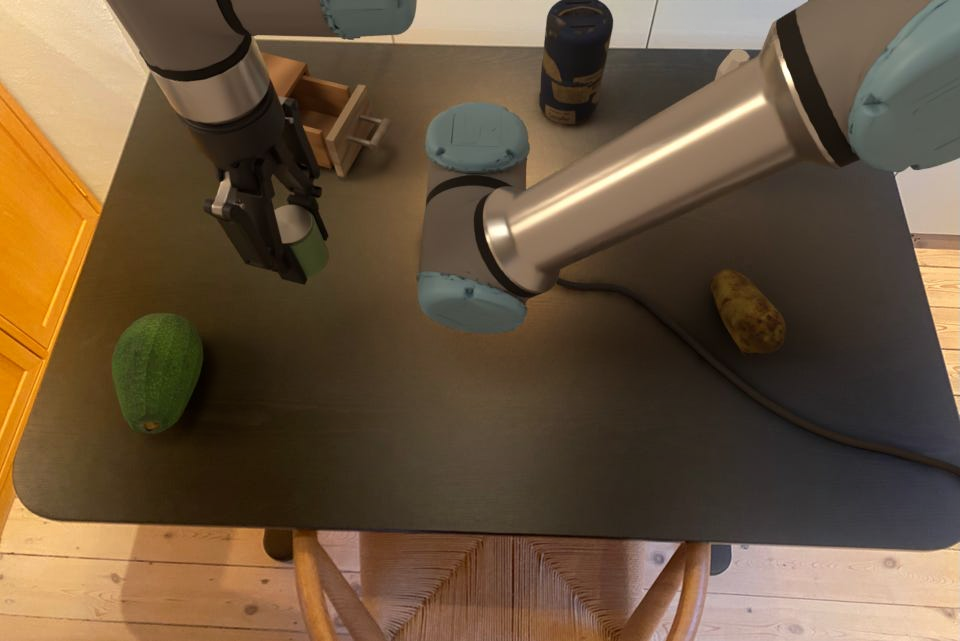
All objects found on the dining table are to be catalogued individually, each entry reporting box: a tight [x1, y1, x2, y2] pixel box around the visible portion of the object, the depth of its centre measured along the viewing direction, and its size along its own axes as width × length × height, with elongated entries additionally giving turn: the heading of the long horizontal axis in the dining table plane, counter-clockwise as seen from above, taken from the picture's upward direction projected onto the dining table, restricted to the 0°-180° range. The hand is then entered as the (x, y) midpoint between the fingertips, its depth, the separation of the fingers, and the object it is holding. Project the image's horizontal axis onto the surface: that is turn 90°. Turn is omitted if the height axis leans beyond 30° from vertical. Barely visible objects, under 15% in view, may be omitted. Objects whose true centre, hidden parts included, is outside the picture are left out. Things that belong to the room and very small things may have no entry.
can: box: [274, 204, 330, 278], centre depth 64 cm, size 5×5×6 cm
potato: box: [710, 268, 787, 357], centre depth 78 cm, size 8×13×8 cm, turn 171°
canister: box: [538, 0, 614, 125], centre depth 91 cm, size 10×10×18 cm
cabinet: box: [260, 51, 312, 98], centre depth 93 cm, size 15×13×10 cm
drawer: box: [288, 75, 392, 178], centre depth 91 cm, size 18×11×8 cm, turn 71°
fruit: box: [111, 312, 204, 435], centre depth 73 cm, size 15×10×10 cm, turn 1°
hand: (305, 256), depth 67 cm, fingers closed on can, 5 cm apart
